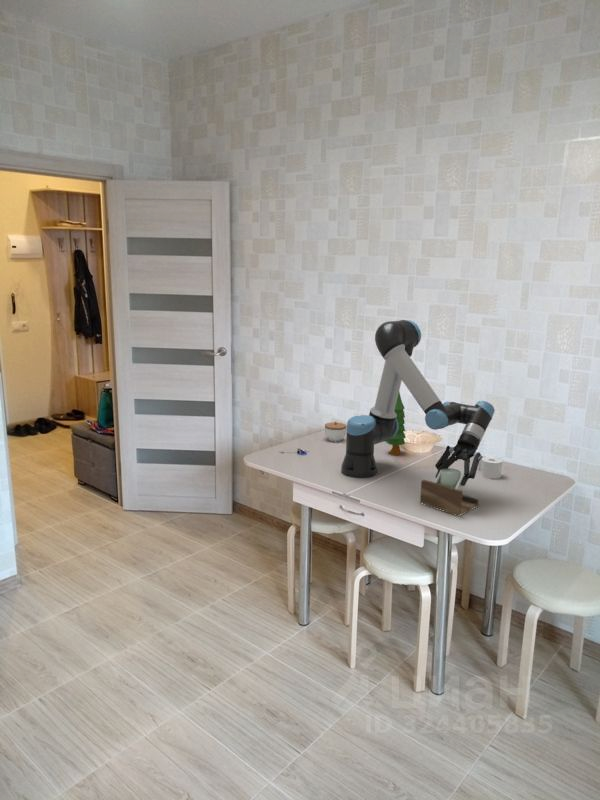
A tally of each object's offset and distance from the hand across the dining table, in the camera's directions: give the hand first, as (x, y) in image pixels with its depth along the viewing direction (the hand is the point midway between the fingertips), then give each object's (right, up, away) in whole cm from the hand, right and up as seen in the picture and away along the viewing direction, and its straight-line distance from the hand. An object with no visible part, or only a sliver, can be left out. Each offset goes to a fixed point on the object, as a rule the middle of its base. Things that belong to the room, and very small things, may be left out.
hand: (445, 489), depth 221 cm
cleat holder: (+2, -6, +5) cm, 8 cm away
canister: (+2, -6, +4) cm, 7 cm away
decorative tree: (-8, +7, +66) cm, 67 cm away
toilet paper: (+28, 0, +40) cm, 48 cm away
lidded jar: (-35, +12, +86) cm, 93 cm away
